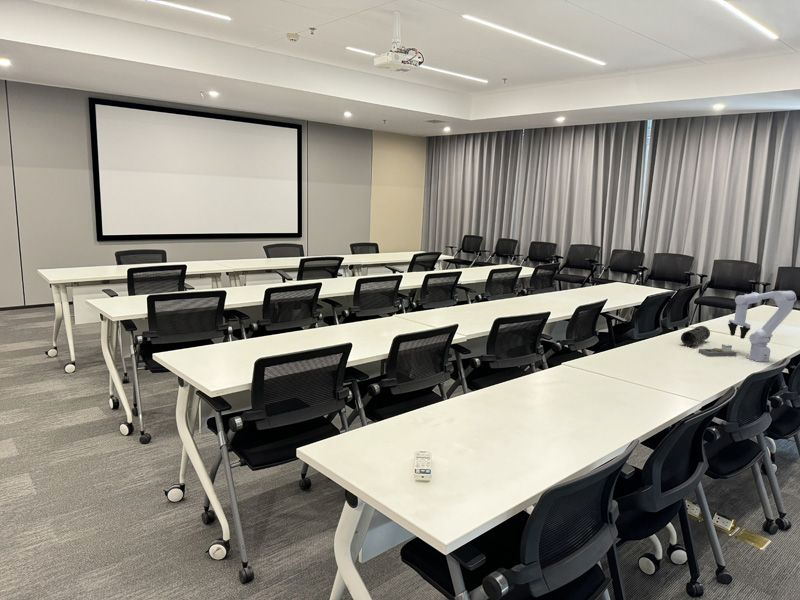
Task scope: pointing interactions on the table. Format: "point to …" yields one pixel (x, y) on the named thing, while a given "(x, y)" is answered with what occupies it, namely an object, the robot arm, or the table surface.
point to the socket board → (716, 352)
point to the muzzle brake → (695, 335)
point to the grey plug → (726, 347)
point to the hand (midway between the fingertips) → (737, 336)
